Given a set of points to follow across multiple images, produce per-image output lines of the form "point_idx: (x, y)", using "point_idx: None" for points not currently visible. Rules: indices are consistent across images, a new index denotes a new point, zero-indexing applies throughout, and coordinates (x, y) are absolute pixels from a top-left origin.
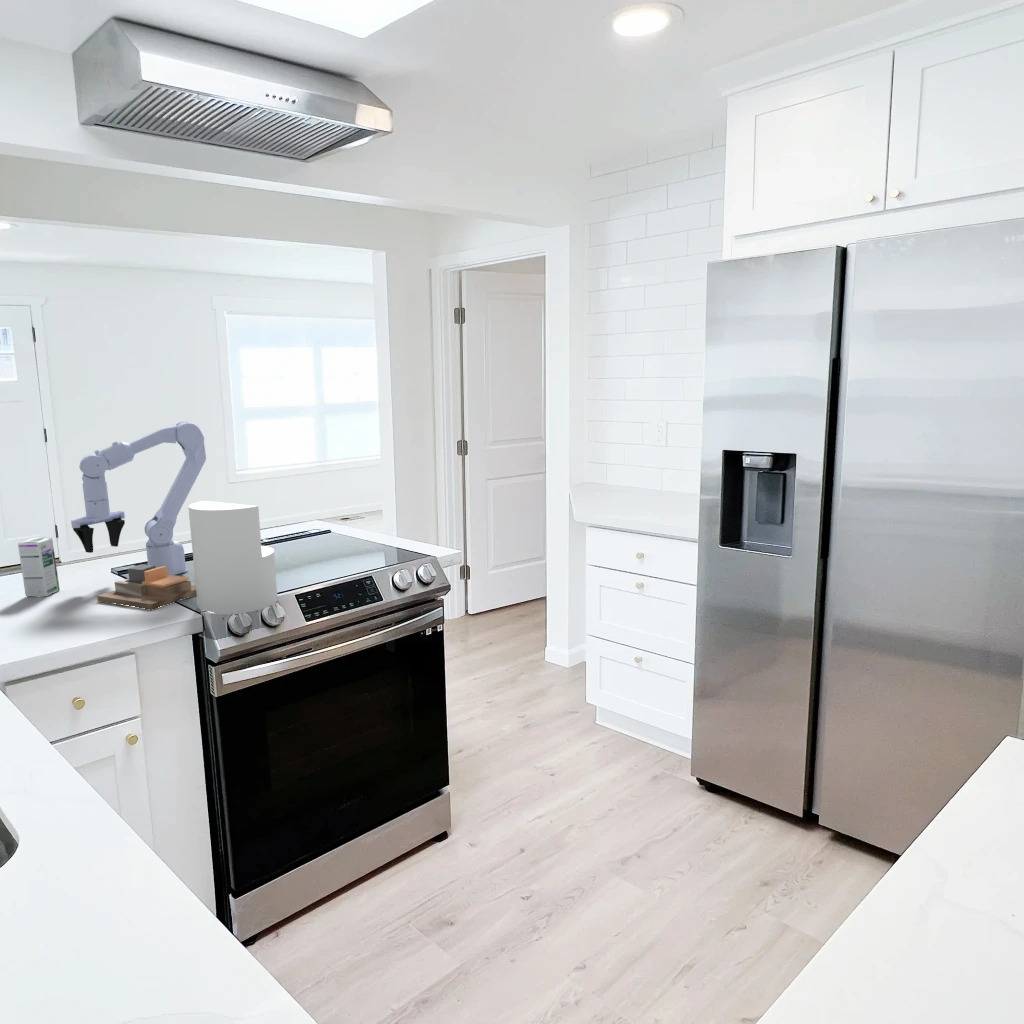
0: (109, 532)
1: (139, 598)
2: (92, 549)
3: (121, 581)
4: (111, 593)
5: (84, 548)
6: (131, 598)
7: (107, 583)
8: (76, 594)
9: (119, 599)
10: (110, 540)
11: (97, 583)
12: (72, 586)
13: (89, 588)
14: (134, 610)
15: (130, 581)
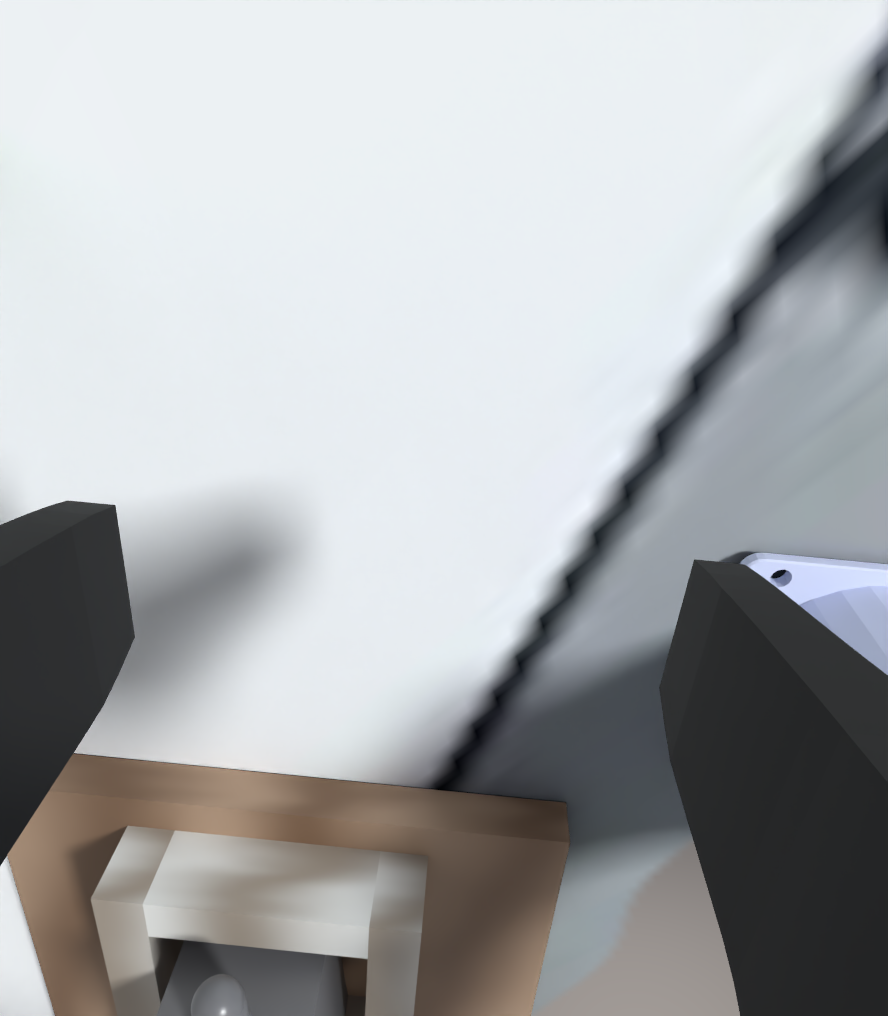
0: (849, 796)
1: (114, 1014)
2: (94, 688)
3: (137, 923)
4: (82, 828)
5: (4, 525)
6: (87, 983)
7: (426, 406)
8: (13, 438)
9: (33, 941)
10: (732, 641)
11: (387, 293)
12: (165, 89)
13: (208, 381)
14: (45, 1004)
15: (177, 968)
